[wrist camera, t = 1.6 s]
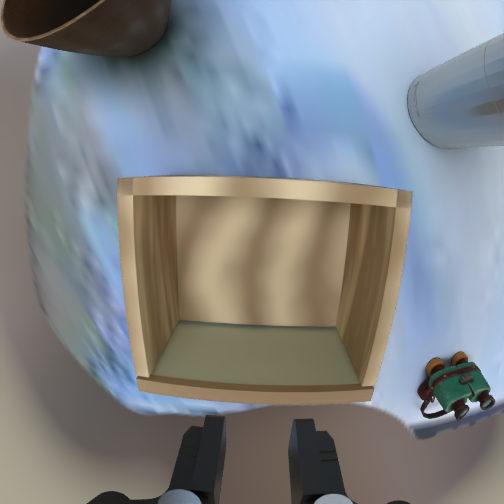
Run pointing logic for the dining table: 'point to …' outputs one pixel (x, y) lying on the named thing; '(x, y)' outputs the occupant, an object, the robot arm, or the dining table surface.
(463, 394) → the binoculars
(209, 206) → the crate
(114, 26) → the plant pot
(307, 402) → the panel
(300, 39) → the dining table surface
